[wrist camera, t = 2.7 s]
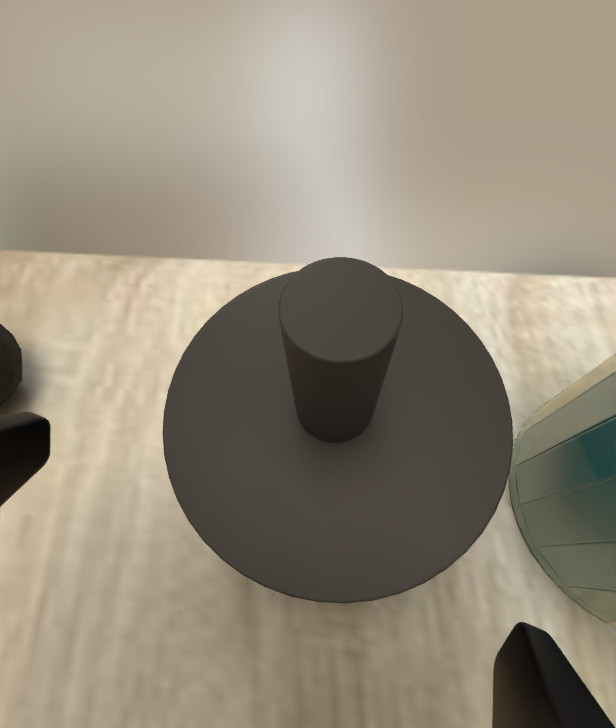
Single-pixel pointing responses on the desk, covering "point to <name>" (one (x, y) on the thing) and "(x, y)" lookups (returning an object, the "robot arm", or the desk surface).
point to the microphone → (9, 363)
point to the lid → (337, 434)
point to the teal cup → (572, 489)
